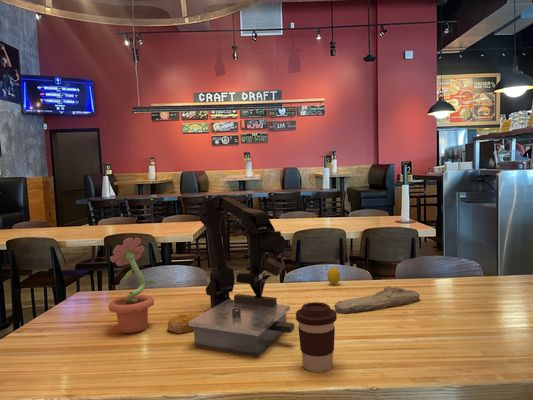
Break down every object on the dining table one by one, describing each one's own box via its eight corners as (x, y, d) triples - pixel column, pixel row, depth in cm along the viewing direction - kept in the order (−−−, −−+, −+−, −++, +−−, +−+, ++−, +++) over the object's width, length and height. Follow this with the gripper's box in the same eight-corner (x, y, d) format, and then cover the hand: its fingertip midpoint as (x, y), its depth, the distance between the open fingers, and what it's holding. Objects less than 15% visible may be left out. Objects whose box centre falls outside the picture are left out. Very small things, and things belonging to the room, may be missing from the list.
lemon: (340, 286, 167) (339, 268, 167) (327, 286, 168) (326, 268, 168) (340, 283, 173) (340, 265, 172) (327, 283, 174) (327, 265, 173)
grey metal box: (194, 346, 111) (193, 325, 111) (230, 322, 129) (229, 304, 129) (278, 361, 100) (278, 338, 100) (305, 332, 118) (304, 313, 118)
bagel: (205, 323, 130) (204, 309, 130) (189, 336, 120) (188, 321, 119) (179, 321, 133) (178, 307, 133) (161, 333, 123) (160, 318, 122)
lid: (188, 325, 110) (188, 313, 110) (228, 302, 130) (228, 292, 130) (258, 335, 101) (258, 322, 101) (290, 309, 121) (289, 297, 121)
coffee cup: (294, 358, 101) (292, 301, 101) (332, 355, 102) (330, 299, 102) (301, 377, 92) (299, 314, 91) (342, 374, 92) (341, 311, 92)
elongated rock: (328, 312, 140) (343, 322, 131) (327, 298, 140) (342, 307, 131) (407, 293, 152) (426, 302, 143) (407, 280, 152) (426, 288, 142)
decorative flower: (146, 317, 137) (141, 232, 136) (166, 327, 127) (161, 235, 126) (103, 330, 127) (97, 238, 126) (121, 341, 117) (116, 241, 116)
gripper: (267, 257, 114) (269, 310, 115) (291, 246, 131) (293, 292, 132) (234, 255, 119) (236, 306, 120) (261, 245, 136) (263, 289, 136)
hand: (259, 298), depth 127 cm, fingers closed
